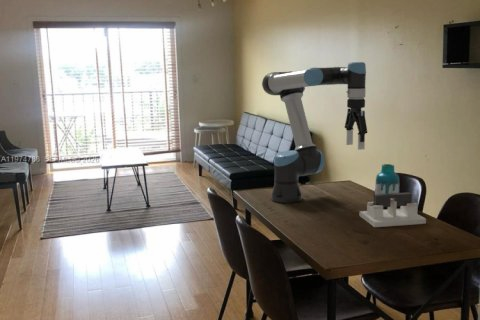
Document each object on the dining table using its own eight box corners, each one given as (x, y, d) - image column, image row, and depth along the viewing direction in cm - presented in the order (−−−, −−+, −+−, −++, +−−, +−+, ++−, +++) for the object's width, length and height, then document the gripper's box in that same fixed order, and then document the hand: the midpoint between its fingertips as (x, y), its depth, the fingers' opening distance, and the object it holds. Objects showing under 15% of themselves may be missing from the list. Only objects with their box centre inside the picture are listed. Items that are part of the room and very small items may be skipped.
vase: (390, 210, 223) (391, 168, 219) (370, 205, 230) (371, 165, 227) (403, 205, 229) (404, 164, 226) (383, 201, 237) (384, 162, 234)
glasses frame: (373, 206, 208) (373, 194, 208) (408, 203, 211) (408, 192, 210) (375, 207, 206) (376, 195, 205) (411, 205, 208) (411, 193, 207)
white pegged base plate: (359, 215, 216) (359, 196, 214) (407, 212, 219) (407, 193, 217) (374, 227, 200) (375, 206, 199) (425, 223, 203) (426, 203, 202)
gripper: (338, 97, 227) (337, 143, 231) (358, 100, 203) (357, 151, 207) (353, 96, 228) (352, 142, 232) (376, 99, 204) (374, 151, 208)
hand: (355, 147), depth 219 cm, fingers open, 13 cm apart
